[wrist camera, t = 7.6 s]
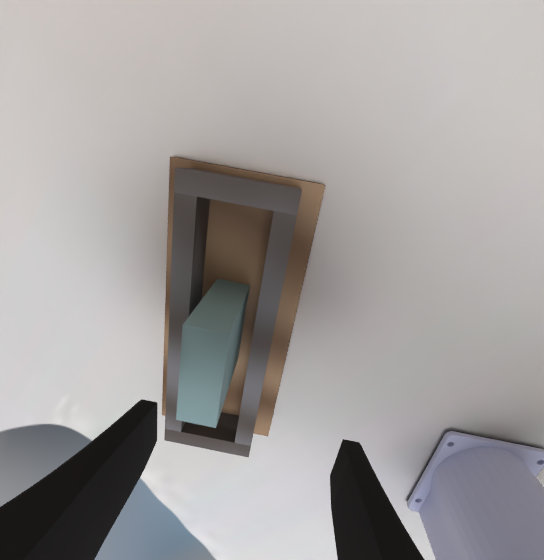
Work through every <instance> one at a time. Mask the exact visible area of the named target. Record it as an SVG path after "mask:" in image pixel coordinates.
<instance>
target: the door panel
mask: <svg viewBox="0 0 544 560" xmlns="http://www.w3.org/2000/svg"><path fill="white" fill-rule="evenodd" d="M249 290H250V285H247V284H242V283H237V282H232V281H227V280H222V279H217V280H216V281H215V283H214V284H213V285H212V287H211V288H210V289H209V291H208V292H207V293H206V295H205V296H204V297H203V298H202V300H201V301H200V302H199V304H198V305H197V306H196V308H195V309H194V310H193V312H192V313H191V314H190V316H189V317H188V318H187V320H186V321H185V322H184V324H183V328H182V342H181V357H180V371H179V385H178V399H177V413H176V420H180V421H184V422H189V423H194V424H199V425H204V426H208V427H213V428H216V426H217V423H218V420H219V417H220V414H221V411H222V408H223V405H224V401H225V398H226V395H227V392H228V389H229V386H230V383H231V380H232V376H233V373H234V370H235V367H236V364H237V361H238V357H239V350H240V344H241V338H242V332H243V326H244V320H245V314H246V308H247V302H248V296H249Z"/></svg>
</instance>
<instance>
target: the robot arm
mask: <svg viewBox="0 0 544 560" xmlns="http://www.w3.org/2000/svg"><path fill="white" fill-rule="evenodd" d="M156 441H157V402H152V401H147V400H140V401H139V402H138V403H137V404H135V405H134V406H133V407H132V408H131V409H130V410H129V411H127V412H126V413H125V414H124V415H123V416H122V417H121V418H119V419H118V420H117V421H116V422H115V423H114V424H112V425H111V426H110V427H109V428H108V429H106V430H105V431H104V432H103V433H102V434H100V435H99V436H98V437H97V438H95V439H94V440H93V441H92V442H91V443H89V444H88V445H87V446H86V447H84V448H83V449H82V450H81V451H79V452H78V453H77V454H75V455H74V456H73V457H71V458H70V459H69V460H67V461H66V462H65V463H63V464H62V465H61V466H59V467H58V468H57V469H55V470H54V471H53V472H51V473H50V474H48V475H47V476H46V477H44V478H43V479H41V480H40V481H39V482H37V483H36V484H34V485H33V486H31V487H30V488H29V489H27V490H26V491H24V492H22V493H21V494H20V495H18V496H17V497H15V498H14V499H12V500H11V501H9V502H7V503H6V504H4V505H3V506H1V507H0V560H94V559H95V557H96V555H97V553H98V551H99V549H100V548H101V546H102V544H103V542H104V540H105V538H106V537H107V535H108V533H109V531H110V529H111V528H112V526H113V524H114V522H115V521H116V519H117V517H118V515H119V514H120V512H121V510H122V508H123V506H124V505H125V503H126V501H127V499H128V498H129V496H130V494H131V492H132V490H133V489H134V487H135V485H136V483H137V481H138V480H139V478H140V476H141V474H142V472H143V471H144V469H145V466H146V464H147V462H148V460H149V458H150V455H151V453H152V451H153V448H154V446H155V444H156ZM543 467H544V449H540V448H535V447H530V446H525V445H520V444H514V443H509V442H504V441H499V440H494V439H489V438H484V437H479V436H474V435H469V434H464V433H459V432H454V431H449V432H447V433H446V434H445V435H444V437H443V439H442V440H441V442H440V444H439V446H438V448H437V449H436V451H435V453H434V455H433V457H432V458H431V460H430V462H429V464H428V466H427V467H426V469H425V471H424V473H423V475H422V477H421V478H420V480H419V482H418V484H417V486H416V487H415V489H414V491H413V493H412V495H411V496H410V498H409V500H408V502H407V505H408V508H409V509H410V510H412V511H416V512H419V514H420V516H421V519H422V522H423V525H424V528H425V530H426V533H427V536H428V539H429V542H430V544H431V547H432V550H433V553H434V556H435V559H436V560H544V487H543V486H542V485H541V483H540V482H539V481H538V479H537V478H536V476H537V475H538V474H539V472H540V471H541V470H542V468H543ZM330 486H331V510H332V518H333V526H334V534H335V541H336V549H337V557H338V560H424V558H423V557H422V555H421V554H420V552H419V550H418V549H417V547H416V546H415V544H414V542H413V541H412V539H411V537H410V536H409V534H408V532H407V531H406V529H405V527H404V526H403V524H402V522H401V520H400V519H399V517H398V515H397V513H396V512H395V510H394V508H393V506H392V504H391V503H390V501H389V499H388V497H387V495H386V494H385V492H384V490H383V488H382V486H381V484H380V482H379V480H378V478H377V476H376V474H375V472H374V471H373V469H372V467H371V465H370V463H369V461H368V459H367V456H366V454H365V452H364V450H363V448H362V446H361V445H360V443H359V442H354V441H349V440H344V439H343V441H342V444H341V447H340V449H339V452H338V455H337V458H336V461H335V463H334V466H333V469H332V472H331V475H330Z"/></svg>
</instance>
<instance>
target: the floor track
mask: <svg viewBox="0 0 544 560" xmlns="http://www.w3.org/2000/svg"><path fill="white" fill-rule="evenodd" d="M324 189H325V185H324V184H318V183H313V182H307V181H302V180H297V179H291V178H286V177H280V176H275V175H269V174H264V173H258V172H253V171H248V170H242V169H237V168H231V167H226V166H220V165H215V164H209V163H204V162H199V161H193V160H188V159H182V158H177V157H170V176H169V208H168V239H167V271H166V303H165V335H164V367H163V399H162V415H165V440H166V441H171V442H176V443H181V444H186V445H191V446H195V447H200V448H205V449H210V450H215V451H220V452H225V453H230V454H235V455H240V456H245V457H249V452H250V447H251V442H252V437H253V433H254V434H259V435H264V436H268V434H269V430H270V425H271V421H272V416H273V412H274V408H275V403H276V399H277V395H278V390H279V386H280V381H281V377H282V373H283V368H284V364H285V360H286V355H287V351H288V347H289V342H290V338H291V333H292V329H293V325H294V320H295V316H296V312H297V307H298V303H299V298H300V294H301V290H302V285H303V281H304V277H305V272H306V268H307V263H308V259H309V255H310V250H311V246H312V242H313V237H314V233H315V228H316V224H317V220H318V215H319V211H320V207H321V202H322V198H323V193H324ZM217 279H222V280H227V281H232V282H237V283H242V284H247V285H250V290H249V296H248V302H247V308H246V314H245V320H244V326H243V332H242V338H241V344H240V350H239V357H238V361H237V364H236V367H235V370H234V373H233V376H232V380H231V383H230V386H229V389H228V392H227V395H226V398H225V401H224V405H223V408H222V411H221V414H220V417H219V420H218V423H217V426H216V428H213V427H208V426H204V425H199V424H194V423H189V422H184V421H180V420H176V413H177V399H178V385H179V371H180V357H181V342H182V328H183V324H184V322H185V321H186V320H187V318H188V317H189V316H190V314H191V313H192V312H193V310H194V309H195V308H196V306H197V305H198V304H199V302H200V301H201V300H202V298H203V297H204V296H205V295H206V293H207V292H208V291H209V289H210V288H211V287H212V285H213V284H214V283H215V281H216V280H217Z"/></svg>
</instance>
